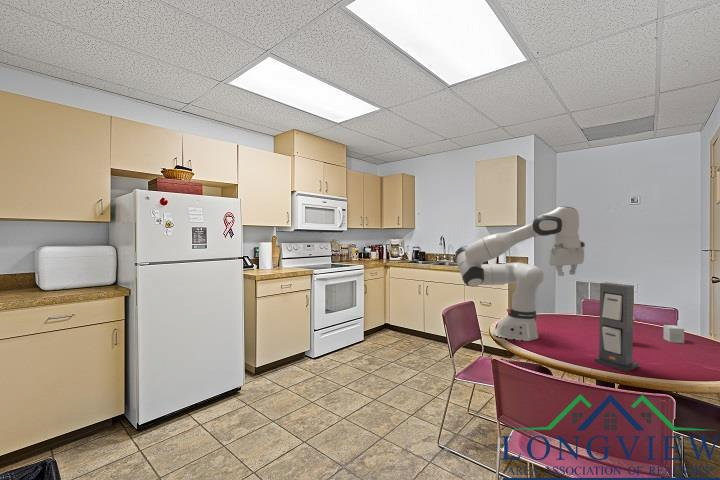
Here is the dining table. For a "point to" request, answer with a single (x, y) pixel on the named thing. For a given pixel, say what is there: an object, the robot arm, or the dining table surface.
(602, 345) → the power strip
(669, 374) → the dining table surface
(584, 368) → the dining table surface
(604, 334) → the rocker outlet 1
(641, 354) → the dining table surface
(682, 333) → the skincare box
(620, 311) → the white rocker switch
